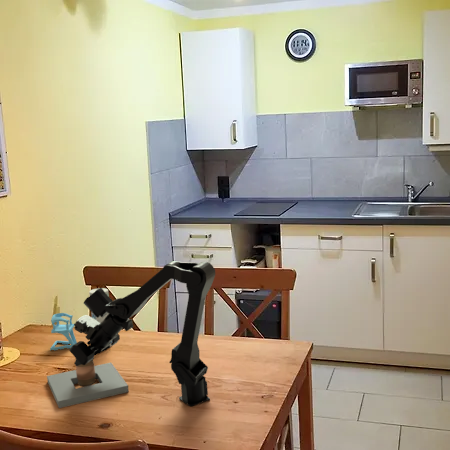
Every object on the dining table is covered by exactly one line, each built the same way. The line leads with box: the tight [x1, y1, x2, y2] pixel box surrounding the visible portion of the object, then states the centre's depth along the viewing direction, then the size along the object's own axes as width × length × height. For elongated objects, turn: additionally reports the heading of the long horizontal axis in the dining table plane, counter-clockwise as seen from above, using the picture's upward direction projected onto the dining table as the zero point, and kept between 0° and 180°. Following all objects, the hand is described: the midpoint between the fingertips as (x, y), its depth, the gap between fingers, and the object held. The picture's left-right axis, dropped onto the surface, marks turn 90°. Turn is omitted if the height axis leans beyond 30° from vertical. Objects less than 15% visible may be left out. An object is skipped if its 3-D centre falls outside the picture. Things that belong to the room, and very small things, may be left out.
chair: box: [49, 312, 78, 351], centre depth 222 cm, size 8×8×12 cm
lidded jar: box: [74, 349, 96, 387], centre depth 187 cm, size 5×5×10 cm
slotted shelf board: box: [46, 362, 129, 409], centre depth 188 cm, size 20×20×2 cm
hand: (80, 361), depth 187 cm, fingers closed on lidded jar, 5 cm apart
